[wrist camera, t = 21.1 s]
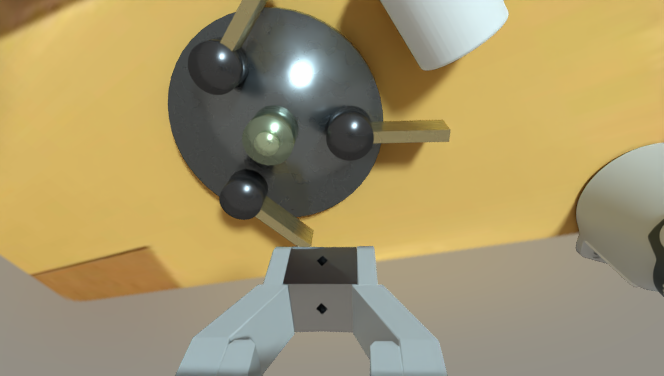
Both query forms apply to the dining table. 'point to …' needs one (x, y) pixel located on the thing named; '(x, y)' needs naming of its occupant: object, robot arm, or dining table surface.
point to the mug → (445, 27)
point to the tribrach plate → (284, 81)
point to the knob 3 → (376, 132)
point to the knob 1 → (225, 53)
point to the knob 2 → (261, 207)
